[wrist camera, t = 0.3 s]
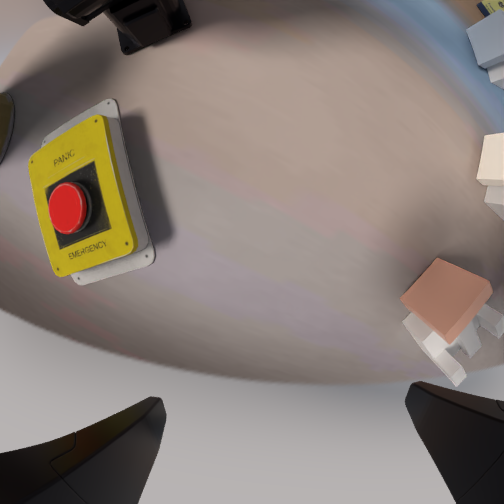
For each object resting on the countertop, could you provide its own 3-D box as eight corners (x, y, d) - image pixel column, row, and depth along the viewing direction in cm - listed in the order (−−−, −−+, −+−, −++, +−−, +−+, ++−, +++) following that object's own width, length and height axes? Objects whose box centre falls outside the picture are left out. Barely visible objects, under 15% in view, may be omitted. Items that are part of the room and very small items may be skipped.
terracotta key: (399, 298, 21) (444, 335, 14) (436, 257, 20) (489, 281, 13) (433, 347, 22) (470, 385, 15) (465, 312, 21) (507, 342, 14)
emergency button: (53, 301, 18) (15, 136, 15) (79, 285, 22) (43, 140, 19) (140, 277, 18) (93, 81, 14) (160, 261, 22) (118, 96, 19)
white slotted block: (401, 321, 22) (440, 360, 15) (449, 269, 21) (497, 293, 14) (421, 349, 23) (456, 387, 16) (465, 301, 22) (507, 327, 15)
